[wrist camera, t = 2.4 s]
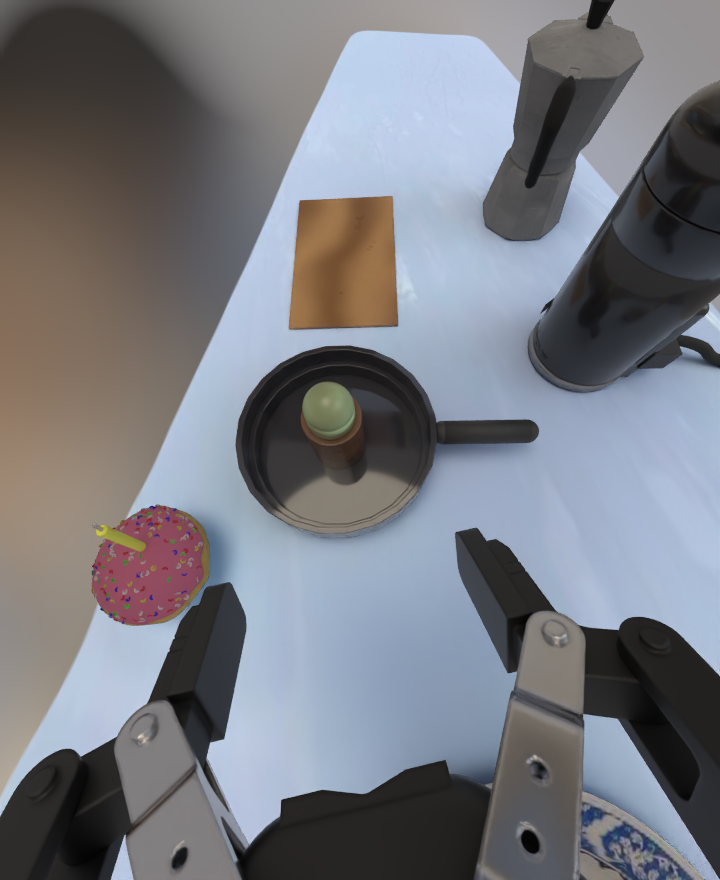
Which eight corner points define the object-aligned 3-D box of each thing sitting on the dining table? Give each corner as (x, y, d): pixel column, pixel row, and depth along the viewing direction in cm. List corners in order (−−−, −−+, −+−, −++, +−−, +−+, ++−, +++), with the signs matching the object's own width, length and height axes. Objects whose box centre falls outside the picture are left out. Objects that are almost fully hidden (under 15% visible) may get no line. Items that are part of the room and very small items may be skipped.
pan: (423, 369, 37) (429, 342, 33) (435, 538, 31) (444, 532, 27) (262, 373, 38) (247, 348, 34) (244, 538, 32) (223, 533, 28)
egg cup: (365, 421, 34) (360, 364, 25) (365, 469, 33) (359, 427, 23) (315, 421, 35) (292, 366, 25) (313, 469, 33) (287, 428, 24)
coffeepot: (497, 171, 47) (564, -54, 30) (570, 189, 45) (685, -41, 28) (458, 254, 42) (511, 43, 25) (538, 277, 40) (652, 66, 24)
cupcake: (161, 505, 33) (51, 471, 22) (245, 528, 32) (174, 505, 21) (118, 603, 30) (-35, 621, 19) (208, 632, 29) (102, 668, 18)
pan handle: (531, 424, 32) (540, 415, 30) (535, 446, 31) (544, 437, 29) (428, 426, 32) (432, 417, 30) (430, 447, 31) (433, 439, 29)
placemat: (392, 198, 46) (392, 195, 46) (397, 326, 39) (397, 324, 39) (300, 202, 47) (299, 200, 46) (289, 329, 40) (288, 327, 39)
